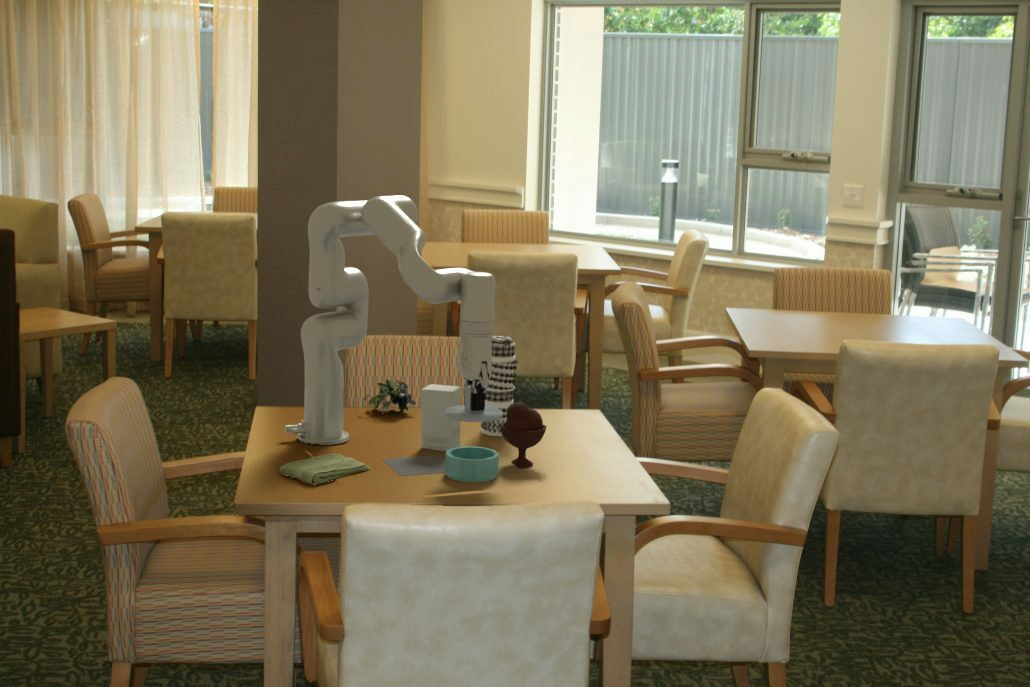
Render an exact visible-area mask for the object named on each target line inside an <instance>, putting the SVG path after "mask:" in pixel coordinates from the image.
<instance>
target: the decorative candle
mask: <svg viewBox="0 0 1030 687" xmlns="http://www.w3.org/2000/svg"><path fill="white" fill-rule="evenodd" d="M491 344H492V373H491V378H490V379H489V380H488V381H489V385H488V386H487V387H486V393H485V406H490V407H494V408H498V409H500V410H502V411H503V417H502V418H501V419H498V420H495V421H489V422H480V427H481V429H480V433H481V434H483V433H484V434H483V435H486V434H487V435H486V436H491V435H492V436H493V437H502V436H501V435H502V434H501V430H500V425H501V424H502V423H503V422H506V421H507V417H506V413H507V409H508V407H509V406H510V405H511V404H513V403H514V398H513V397H514V390H515V389H516V387H515V385H514V384H515V383H516V382H517V380H516V379H515V377H517V374H516V373H515V372H514V371H516V370H517V369H518V366H516V364H518V360H517V359H516V354H515V352H516V351H515V350H516V348H515V347H516V344H517V343H515V342H514V341H513V339H512V337H510V336H506V335H493V336H491ZM492 436H491V437H492Z"/></svg>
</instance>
